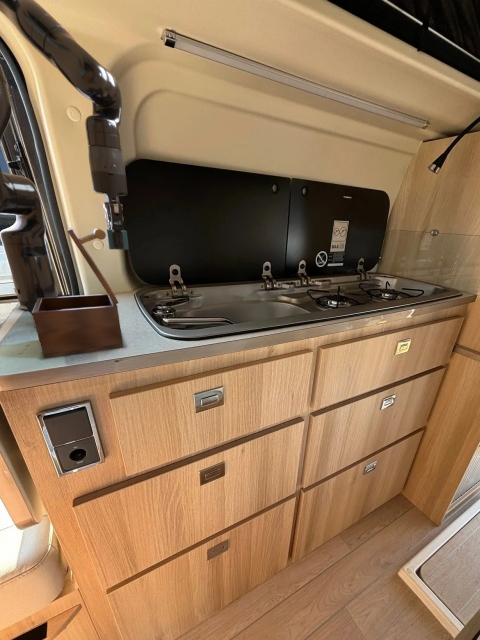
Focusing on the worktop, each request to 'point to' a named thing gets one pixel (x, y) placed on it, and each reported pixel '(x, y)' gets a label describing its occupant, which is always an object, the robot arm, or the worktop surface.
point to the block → (111, 243)
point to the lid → (79, 243)
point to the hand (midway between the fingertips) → (117, 247)
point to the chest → (77, 324)
